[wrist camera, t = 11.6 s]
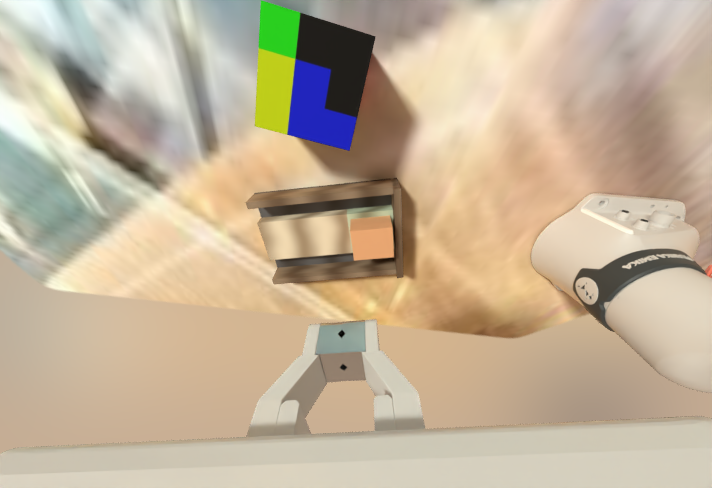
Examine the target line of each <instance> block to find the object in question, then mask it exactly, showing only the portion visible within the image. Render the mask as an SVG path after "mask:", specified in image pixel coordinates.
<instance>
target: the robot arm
mask: <svg viewBox="0 0 712 488" xmlns="http://www.w3.org/2000/svg"><path fill="white" fill-rule="evenodd" d="M684 219H685V205H684V203H682V202H680V201H677V200H670V199H659V198H647V197H635V196H624V195H612V194H600V193H592V194H590V195H588V196H586V197H585V198H584V199H583V200H582V201H581V202H580V203H579V204H578V205H577V206H576V207H575V208H574V209H572V210H571V211H569V212H568V213H566V214H564V215H563V216H561V217H559V218H558V219H556V220H555V221H553V222H552V223H551V224H550V225H548V226H547V227H546V228H545V229H544V230H543V232H542V233H541V234H540V235H539V237H538V238H537V240H536V241H535V243H534V246H533V249H532V253H531V261H532V265H533V267H534V269H535V270H536V271H537V272H538V273H539V274H541V275H542V276H544V277H546V278H547V279H549V280H550V281H551V283H552V284H553V286H554V287H555V288H557V289H558V290H560V291H564V292H566V293H567V294H568V295H569V296H571V297H572V298H573V299H575V300H576V301H577V302H578V303H580V304H581V305H582V306H584V307H585V308H586V310H587V311H588V312H589V313H590V314H591V315H593V316H594V317H595V318H596V320H597V321H598V322H599V323H601V324H602V325H603V326H605V327H606V328H607V329H609V330H610V331H613V332H616V333H617V334H618V335H619V336H620V337H621V338H622V339H623V340H624V341H625V342H626V343H627V344H628V345H629V346H630V347H632V349H634V350H635V351H636V352H637V353H638V354H639V355H640V356H641V357H642V358H643V359H644V360H645V361H646V362H647V363H648V364H649V365H650V366H651V367H653V368H654V369H655V370H656V371H657V372H658V373H659V374H661V375H662V376H664V377H665V378H667V379H669V380H671V381H672V382H675V383H677V384H679V385H681V386H684V387H686V388H689V389H693V390H697V391H701V392H708V393H712V276H710V275H711V274H712V265H709V266H708V268H707V269H706V271H704V270H703V269H702V268H701V267H700V266H699V265H698V264H697V263H696V262H695V261H694V260H693V259H694V256H695V254H696V251H697V249H698V246H699V241H700V237H699V233H698V231H697V230H696V228H694V227H693V226H691V225H689V224H687V223H685V222H684ZM352 380H353V381H354V380H366V382H367V383H368V385H369V386H370V388H371V390H372V391H373V393H374V395H375V396H376V397H375V399H374V419H375V431H368V432H348V433H347V432H345V433H323V434H311V432H310V430H309V427H308V425H307V422H306V419H305V418H306V416H307V414H308V413H309V411H310V410H311V408H312V406H313V405H314V403H315V402H316V400H317V398H318V397H319V395H320V394H321V392H322V391H323V389H324V387H325V386H326V384H327V383H326V382H337V381H352ZM0 488H712V418H708V417H702V416H688V417H687V416H686V417H668V418H647V419H626V420H605V421H584V422H563V423H541V424H522V425H521V424H520V425H499V426H478V427H455V428H434V429H425V425H424V420H423V415H422V410H421V405H420V400H419V395H418V392H417V391H416V390H415V388H414V387H413V386H412V385H411V384H410V383H409V381H408V380H407V379H406V378H405V377H404V376H403V374H402V373H401V372H400V371H399V370H398V368H397V367H396V366H395V365H394V364H393V362H391V360H390V359H389V358H388V357H387V355H385V353H384V352H383V351H380V349H379V338H378V328H377V320H376V319H374V320H361V321H349V322H338V323H321V324H310V325H309V327H308V331H307V335H306V340H305V345H304V350H303V354H302V356H299V357H298V358H297V359H296V360H295V361H294V362H293V363H292V364H291V365H290V366H289V368H288V369H287V370H286V371H285V372H284V373H283V374H282V375H281V376H280V377H279V378H278V380H277V381H276V382H275V383H274V384H273V385H272V386H271V387H270V388H269V390H268V391H267V392H266V393H265V394H264V395H263V396H262V397H261V398H260V399H259V401H258V403H257V406H256V409H255V412H254V415H253V418H252V421H251V424H250V427H249V430H248V433H247V436H246V437H237V438H216V439H197V440H196V439H195V440H194V439H193V440H172V441H150V442H129V443H107V444H85V445H63V446H41V447H22V448H14V449H11V450H7V451H5V452H3V453H1V454H0Z"/></svg>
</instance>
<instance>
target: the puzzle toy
mask: <svg viewBox="0 0 712 488" xmlns="http://www.w3.org/2000/svg"><path fill="white" fill-rule="evenodd" d="M374 41H375V36H372V35H369V34H366V33H363V32H359V31H356V30H353V29H350V28H347V27H344V26H340V25H337V24H334V23H331V22H328V21H325V20H321V19H318V18H315V17H312V16H309V15H306V14H302V13H299V12H296V11H293V10H290V9H287V8H283V7H280V6H277V5H274V4H271V3H268V2H264V1H261V10H260V31H259V51H258V72H257V93H256V113H255V126H256V127H260V128H264V129H268V130H272V131H275V132H279V133H283V134H287V135H291V136H295V137H298V138H302V139H306V140H310V141H314V142H318V143H321V144H325V145H329V146H333V147H337V148H341V149H344V150H348V151H350V146H351V142H352V138H353V133H354V129H355V124H356V120H357V116H358V111H359V107H360V102H361V98H362V94H363V89H364V85H365V80H366V76H367V72H368V67H369V63H370V58H371V54H372V50H373V45H374Z"/></svg>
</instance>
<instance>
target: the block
mask: <svg viewBox="0 0 712 488" xmlns="http://www.w3.org/2000/svg"><path fill="white" fill-rule="evenodd" d="M350 236H351V243H352V250H353V257H354V261H356V260H368V259H379V258H391V257H394V246H393V227H392V223H391V219H390V215H389V216H379V217H369V218H358V219H351V222H350Z"/></svg>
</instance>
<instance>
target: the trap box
mask: <svg viewBox="0 0 712 488" xmlns="http://www.w3.org/2000/svg"><path fill="white" fill-rule="evenodd" d="M246 205H247V208H248V209H254V208H259V211H260V214H261V217H262V218H261V219H260V221H259V222H258V226H259V229H260V232H261V235H262V238H263V241H264V244H265V247H266V250H267V253H268V256H269V259H270V260H275V261H276V264H277V267H278V268H277V270H276V273H275V275H274V277H273V279H272V280H273V283H274V284H284V283H296V282H308V281H320V280H332V279H344V278H356V277H368V276H380V275H392V274H397V278H402V277H403V241H402V199H401V187H400V185H399V183H398V180H397V178H393V179H383V180H374V181H365V182H355V183H346V184H336V185H327V186H317V187H308V188H298V189H289V190H280V191H270V192H261V193H255V194H254V195H253V196H252V197H251V198H250V199H249V200H248V201H247V202H246ZM389 215H390V219H391V223H392V227H393V246H394V257H391V258H379V259H368V260H356V261H354V257H353V250H352V243H351V236H350V222H351V219H358V218H369V217H379V216H389Z"/></svg>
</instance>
